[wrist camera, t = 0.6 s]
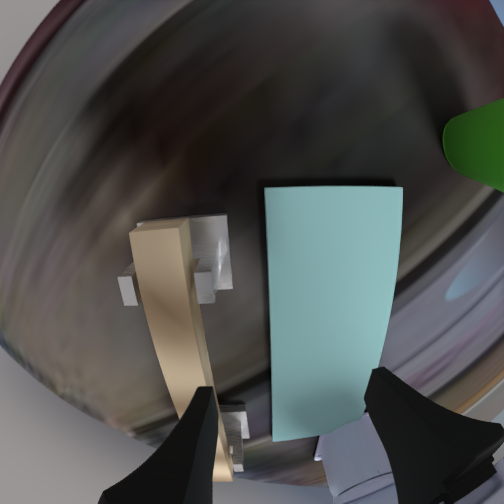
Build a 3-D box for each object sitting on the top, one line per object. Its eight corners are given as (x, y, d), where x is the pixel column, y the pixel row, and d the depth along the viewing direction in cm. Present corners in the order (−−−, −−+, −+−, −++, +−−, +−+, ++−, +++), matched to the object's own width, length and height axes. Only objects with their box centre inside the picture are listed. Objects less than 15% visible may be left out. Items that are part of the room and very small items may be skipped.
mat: (356, 422, 25) (358, 426, 25) (272, 436, 25) (272, 441, 24) (397, 186, 18) (402, 187, 17) (264, 187, 17) (265, 188, 17)
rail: (232, 462, 21) (232, 481, 19) (209, 462, 21) (208, 481, 19) (188, 218, 14) (178, 227, 12) (145, 222, 14) (129, 232, 11)
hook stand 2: (249, 431, 25) (251, 477, 19) (194, 431, 24) (189, 476, 19) (245, 404, 23) (247, 455, 17) (184, 404, 23) (175, 454, 17)
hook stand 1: (233, 282, 19) (230, 331, 13) (153, 287, 19) (122, 332, 13) (227, 212, 18) (220, 234, 12) (141, 220, 18) (100, 244, 12)
